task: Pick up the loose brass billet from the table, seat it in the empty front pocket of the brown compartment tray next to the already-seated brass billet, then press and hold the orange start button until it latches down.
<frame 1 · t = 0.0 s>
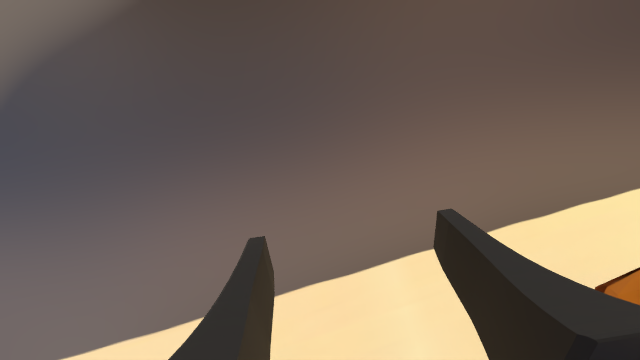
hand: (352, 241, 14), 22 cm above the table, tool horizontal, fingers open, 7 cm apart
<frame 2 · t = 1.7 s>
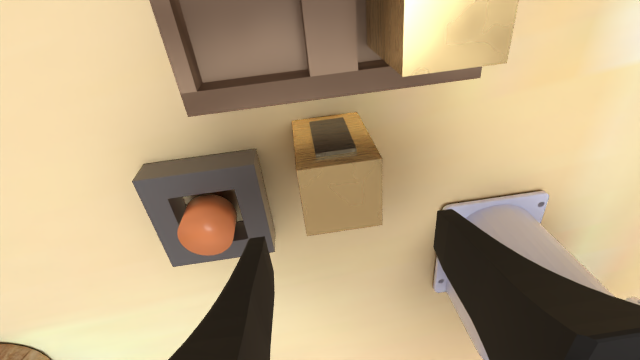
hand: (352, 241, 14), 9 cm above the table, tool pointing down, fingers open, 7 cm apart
billet: (327, 145, 22), on the table
button housing: (215, 201, 23), on the table
brown compartment tray: (323, 5, 17), on the table
sculpture: (32, 358, 30), on the table
start button: (208, 224, 21), point 3 cm above the table, slide at 0.0 cm
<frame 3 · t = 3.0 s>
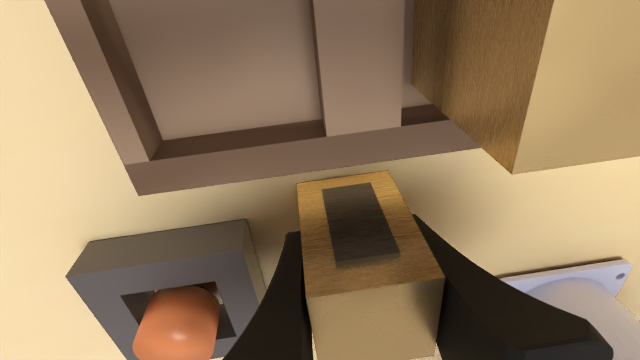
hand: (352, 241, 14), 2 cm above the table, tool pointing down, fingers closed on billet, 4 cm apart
billet: (345, 213, 16), on the table, touching gripper
button housing: (192, 282, 17), on the table
brown compartment tray: (345, 25, 11), on the table
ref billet: (476, 13, 11), point 1 cm above the table, touching brown compartment tray
start button: (179, 327, 15), point 3 cm above the table, slide at 0.0 cm
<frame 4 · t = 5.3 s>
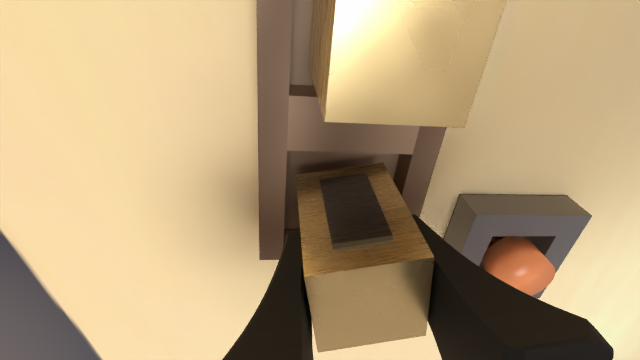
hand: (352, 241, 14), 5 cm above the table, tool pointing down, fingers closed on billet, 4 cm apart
billet: (342, 203, 16), point 2 cm above the table, touching gripper
button housing: (493, 238, 22), on the table
brown compartment tray: (345, 106, 16), on the table
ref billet: (362, 17, 13), point 1 cm above the table, touching brown compartment tray
start button: (516, 267, 20), point 3 cm above the table, slide at 0.0 cm
when the fingers open (4 cm above the table, at t = 6.0 s): billet stays where it is, resting on brown compartment tray.
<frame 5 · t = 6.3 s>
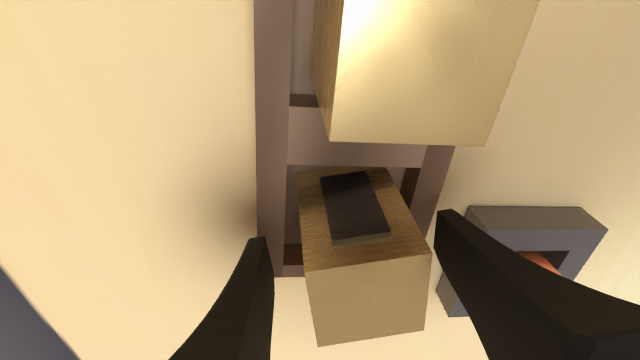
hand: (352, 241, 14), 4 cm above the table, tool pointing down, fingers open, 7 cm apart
billet: (342, 201, 17), point 1 cm above the table, touching brown compartment tray
button housing: (503, 251, 21), on the table
brown compartment tray: (349, 115, 15), on the table
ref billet: (368, 22, 12), point 1 cm above the table, touching brown compartment tray
start button: (528, 283, 19), point 2 cm above the table, slide at 0.0 cm
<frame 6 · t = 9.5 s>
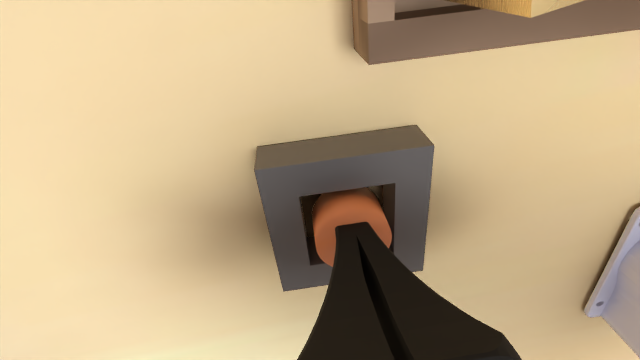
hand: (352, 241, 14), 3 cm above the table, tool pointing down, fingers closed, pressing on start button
button housing: (342, 200, 17), on the table
start button: (349, 226, 15), point 2 cm above the table, slide at 0.5 cm, touching gripper
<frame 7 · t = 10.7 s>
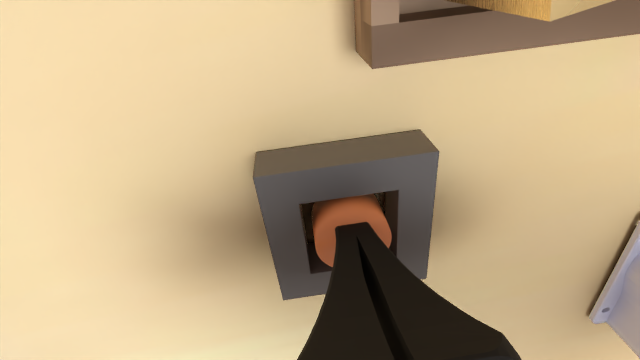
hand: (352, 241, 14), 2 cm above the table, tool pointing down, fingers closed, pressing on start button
button housing: (344, 206, 16), on the table
start button: (349, 227, 15), point 1 cm above the table, slide at 1.0 cm, touching gripper
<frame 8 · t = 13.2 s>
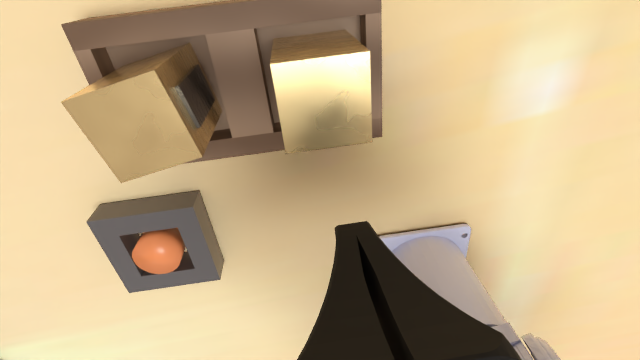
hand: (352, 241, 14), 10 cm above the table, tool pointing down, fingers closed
billet: (174, 89, 19), point 1 cm above the table, touching brown compartment tray
button housing: (166, 234, 26), on the table
brown compartment tray: (246, 75, 20), on the table
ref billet: (313, 71, 20), point 1 cm above the table, touching brown compartment tray
start button: (160, 248, 25), point 1 cm above the table, slide at 1.0 cm
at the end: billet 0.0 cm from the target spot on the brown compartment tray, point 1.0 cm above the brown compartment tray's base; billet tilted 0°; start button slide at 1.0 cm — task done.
